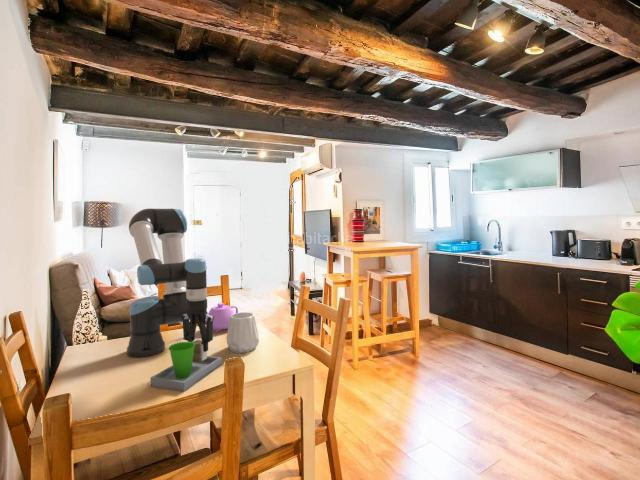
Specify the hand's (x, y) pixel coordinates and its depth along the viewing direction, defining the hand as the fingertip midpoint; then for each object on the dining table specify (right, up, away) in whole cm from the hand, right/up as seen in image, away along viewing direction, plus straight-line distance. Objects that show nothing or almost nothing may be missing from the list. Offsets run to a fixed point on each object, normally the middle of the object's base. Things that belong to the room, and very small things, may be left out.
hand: (198, 358), depth 132 cm
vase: (+12, -3, +21) cm, 24 cm away
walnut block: (0, 0, 0) cm, 0 cm away
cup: (-3, -4, -8) cm, 9 cm away
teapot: (-6, -2, +48) cm, 49 cm away
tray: (-2, -4, -5) cm, 7 cm away
